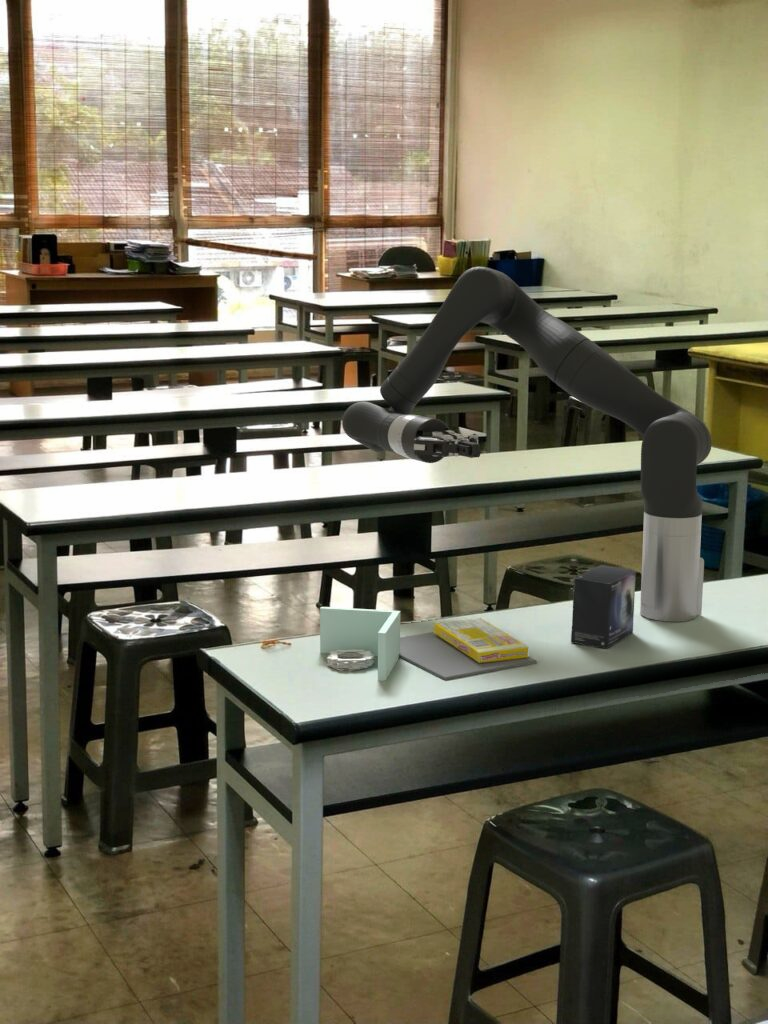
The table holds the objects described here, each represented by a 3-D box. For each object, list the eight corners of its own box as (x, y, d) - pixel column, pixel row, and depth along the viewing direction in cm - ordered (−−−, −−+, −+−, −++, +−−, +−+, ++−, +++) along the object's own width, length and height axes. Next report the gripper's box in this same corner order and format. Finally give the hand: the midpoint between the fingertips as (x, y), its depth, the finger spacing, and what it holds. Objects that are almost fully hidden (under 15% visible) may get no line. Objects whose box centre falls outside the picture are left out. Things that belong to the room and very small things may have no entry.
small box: (608, 650, 200) (611, 582, 198) (569, 643, 204) (571, 577, 202) (635, 633, 209) (638, 568, 207) (597, 627, 213) (599, 563, 211)
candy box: (480, 630, 210) (432, 633, 207) (481, 617, 209) (433, 620, 206) (528, 660, 195) (477, 664, 192) (529, 646, 194) (478, 649, 191)
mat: (461, 629, 211) (461, 627, 211) (536, 662, 194) (536, 660, 194) (374, 644, 203) (374, 641, 203) (445, 680, 186) (445, 677, 186)
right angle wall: (321, 655, 200) (321, 606, 198) (400, 659, 198) (400, 611, 196) (302, 679, 188) (301, 628, 187) (385, 684, 186) (385, 633, 185)
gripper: (385, 418, 221) (441, 430, 206) (451, 413, 228) (511, 424, 213) (385, 462, 222) (441, 477, 208) (451, 456, 229) (510, 471, 214)
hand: (476, 451), depth 210 cm, fingers closed
